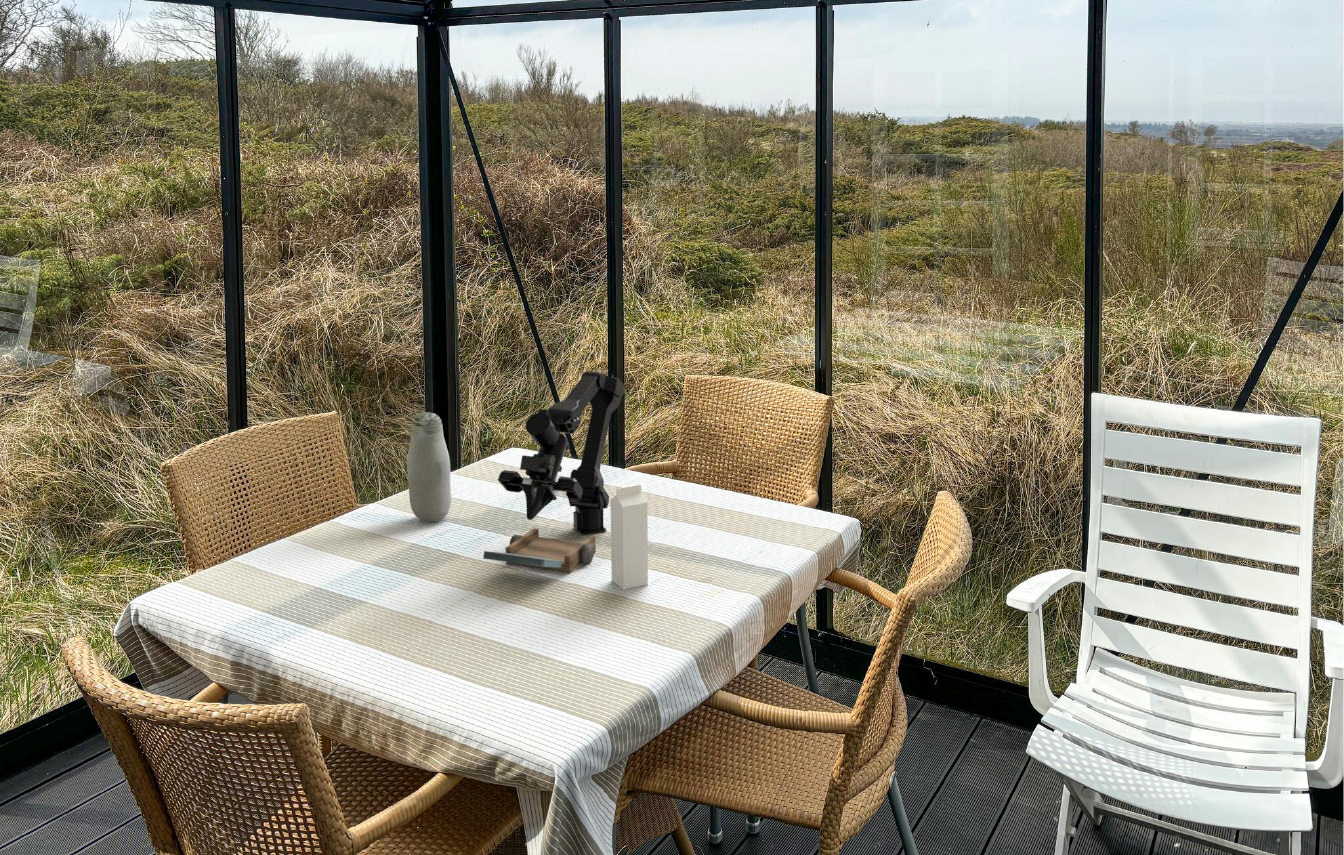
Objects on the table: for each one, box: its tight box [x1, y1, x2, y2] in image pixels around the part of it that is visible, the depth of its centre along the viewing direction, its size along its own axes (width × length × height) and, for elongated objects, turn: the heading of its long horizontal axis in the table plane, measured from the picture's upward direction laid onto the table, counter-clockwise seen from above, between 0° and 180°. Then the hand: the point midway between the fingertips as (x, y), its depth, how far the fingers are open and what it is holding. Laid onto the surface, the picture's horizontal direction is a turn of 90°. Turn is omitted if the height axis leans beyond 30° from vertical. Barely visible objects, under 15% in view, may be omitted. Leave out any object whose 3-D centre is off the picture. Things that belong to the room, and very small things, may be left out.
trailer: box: [505, 527, 597, 575], centre depth 265 cm, size 14×19×4 cm
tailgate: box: [483, 550, 562, 568], centre depth 252 cm, size 2×14×10 cm
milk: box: [609, 484, 649, 591], centre depth 249 cm, size 6×6×22 cm
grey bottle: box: [406, 411, 452, 523], centre depth 288 cm, size 10×10×28 cm
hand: (529, 519), depth 253 cm, fingers closed
